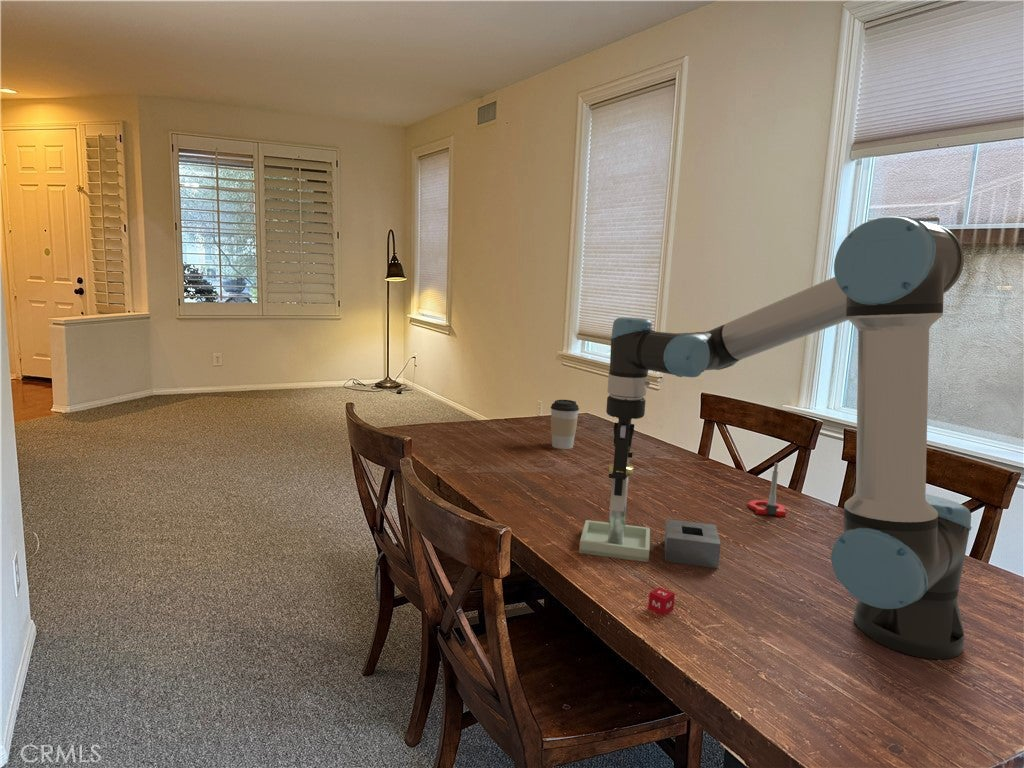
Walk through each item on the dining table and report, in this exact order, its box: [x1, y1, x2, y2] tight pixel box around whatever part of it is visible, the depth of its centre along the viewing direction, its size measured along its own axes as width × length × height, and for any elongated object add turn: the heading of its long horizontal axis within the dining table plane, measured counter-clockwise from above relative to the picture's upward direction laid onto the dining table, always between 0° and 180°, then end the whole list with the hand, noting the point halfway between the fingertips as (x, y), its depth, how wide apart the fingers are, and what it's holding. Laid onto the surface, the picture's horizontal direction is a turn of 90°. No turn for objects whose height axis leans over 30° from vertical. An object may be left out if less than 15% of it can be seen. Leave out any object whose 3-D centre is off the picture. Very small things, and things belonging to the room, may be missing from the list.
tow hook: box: [748, 462, 787, 517], centre depth 158 cm, size 8×13×9 cm
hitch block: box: [663, 518, 722, 569], centre depth 130 cm, size 10×10×5 cm
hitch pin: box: [608, 462, 634, 545], centre depth 132 cm, size 5×5×16 cm
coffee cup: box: [550, 399, 580, 450], centre depth 206 cm, size 9×9×15 cm
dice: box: [647, 586, 676, 616], centre depth 109 cm, size 3×3×3 cm
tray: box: [578, 519, 651, 563], centre depth 133 cm, size 12×14×2 cm
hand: (618, 498), depth 132 cm, fingers open, 13 cm apart
